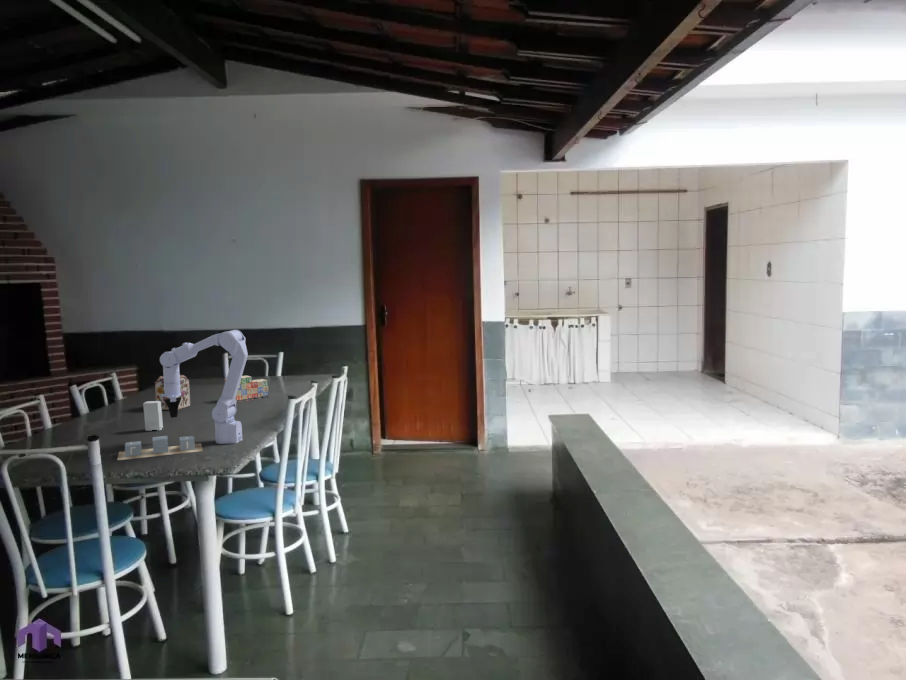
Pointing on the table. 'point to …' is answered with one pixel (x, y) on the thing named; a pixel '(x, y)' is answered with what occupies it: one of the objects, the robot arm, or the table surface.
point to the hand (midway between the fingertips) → (173, 417)
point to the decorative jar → (184, 397)
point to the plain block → (160, 444)
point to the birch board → (150, 453)
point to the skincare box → (153, 415)
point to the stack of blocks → (251, 388)
